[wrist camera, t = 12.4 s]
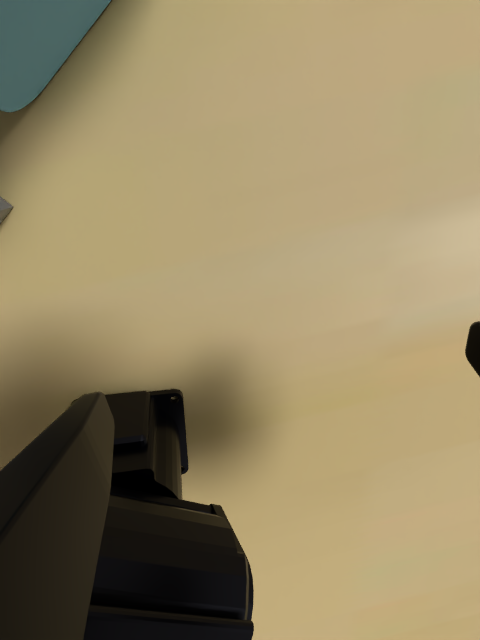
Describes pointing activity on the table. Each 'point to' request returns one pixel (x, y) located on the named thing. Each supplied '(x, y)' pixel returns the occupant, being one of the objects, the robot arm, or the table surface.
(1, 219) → the jack panel
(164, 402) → the robot arm
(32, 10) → the blue box
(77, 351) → the table surface
